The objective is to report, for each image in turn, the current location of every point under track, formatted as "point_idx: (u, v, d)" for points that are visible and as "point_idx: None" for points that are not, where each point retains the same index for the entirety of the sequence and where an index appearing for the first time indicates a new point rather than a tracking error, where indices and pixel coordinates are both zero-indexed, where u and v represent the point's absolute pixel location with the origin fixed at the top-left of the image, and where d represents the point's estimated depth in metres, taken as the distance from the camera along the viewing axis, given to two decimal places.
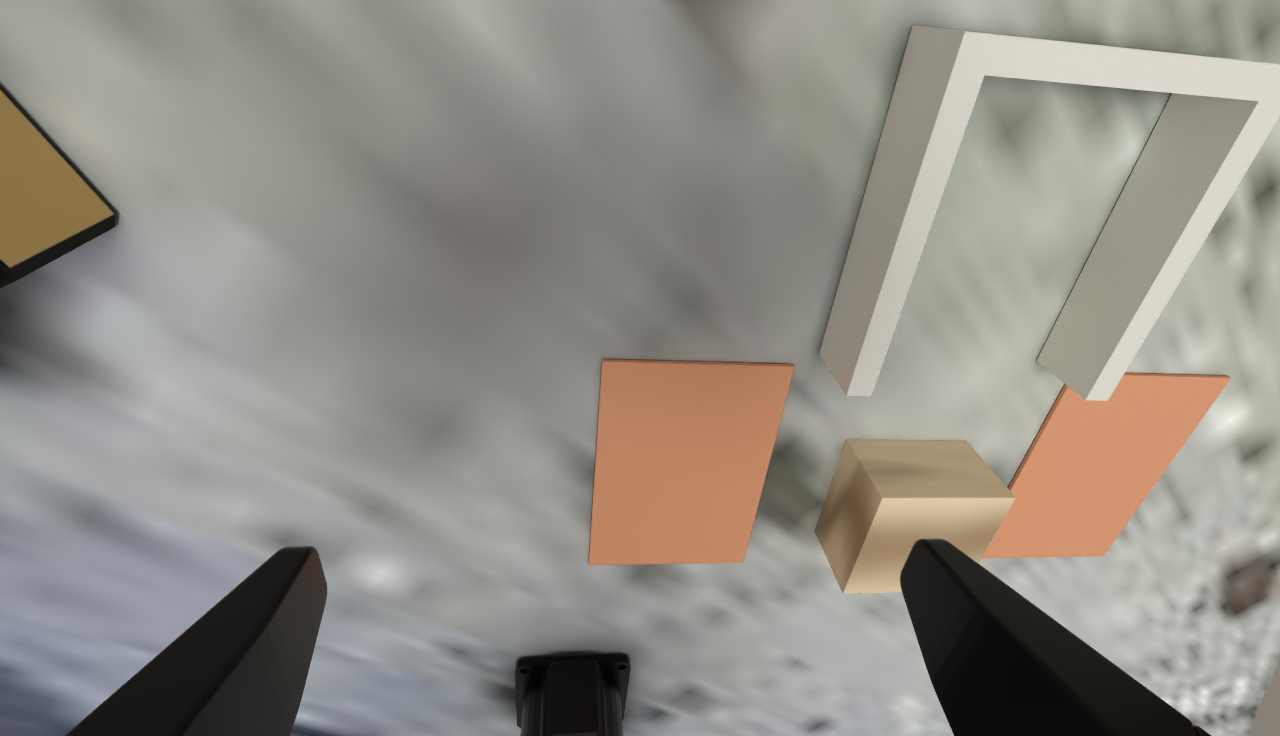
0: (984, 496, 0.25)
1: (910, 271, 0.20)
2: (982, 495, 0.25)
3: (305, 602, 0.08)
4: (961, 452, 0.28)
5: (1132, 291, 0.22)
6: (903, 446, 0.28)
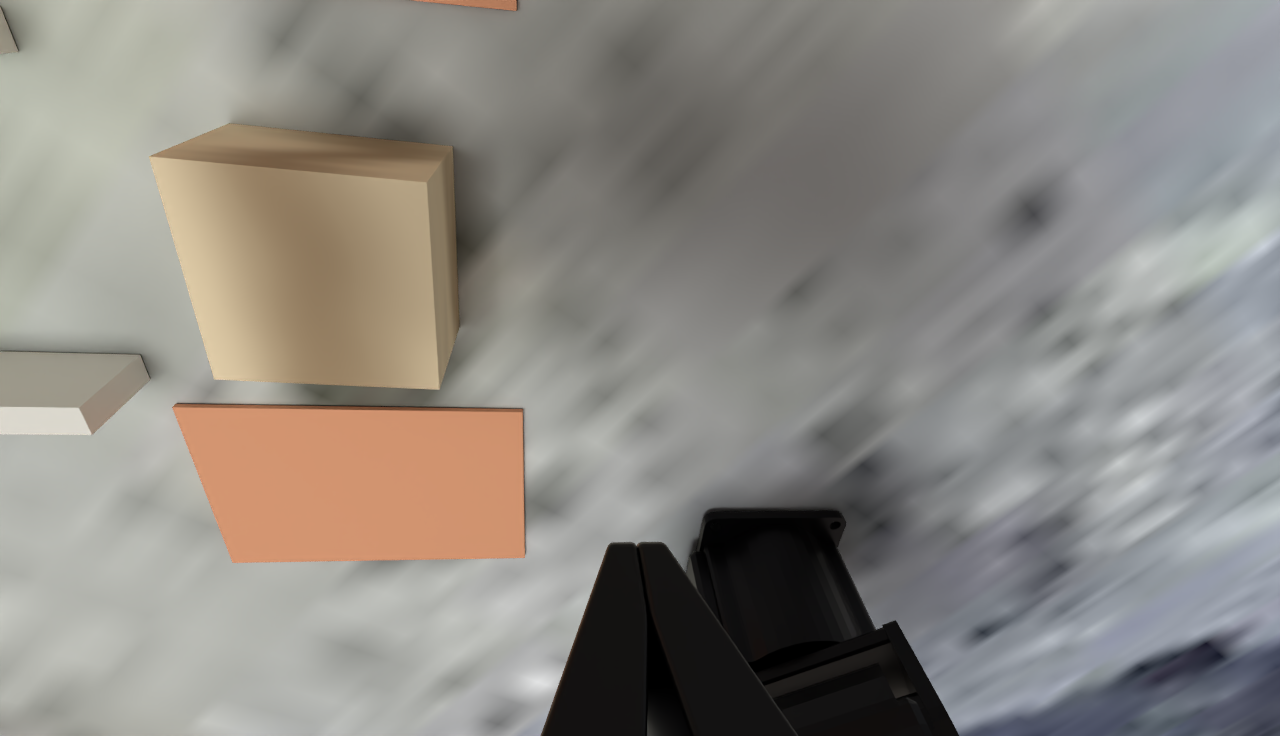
0: (168, 216, 0.14)
1: None
2: (171, 218, 0.14)
3: None
4: None
5: None
6: None
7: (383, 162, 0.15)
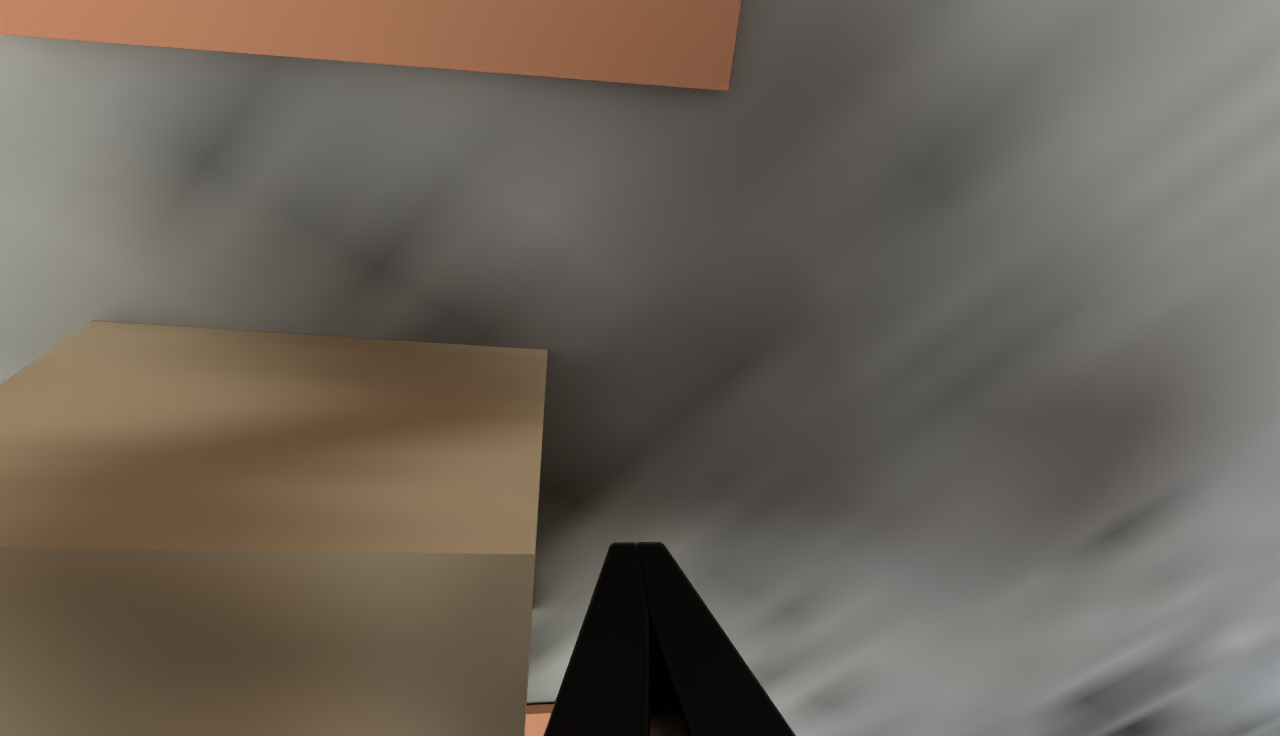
0: None
1: None
2: None
3: None
4: None
5: None
6: None
7: (417, 455, 0.07)
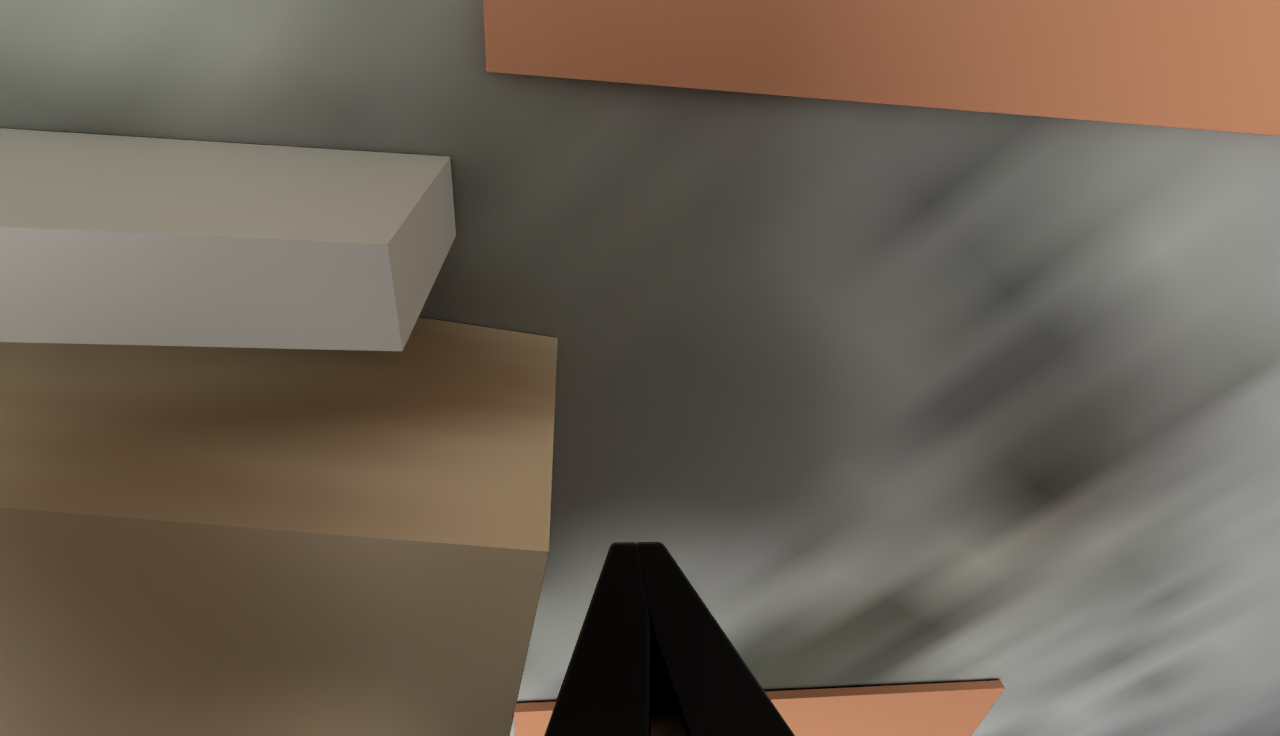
0: None
1: None
2: None
3: None
4: None
5: None
6: None
7: (426, 439, 0.06)
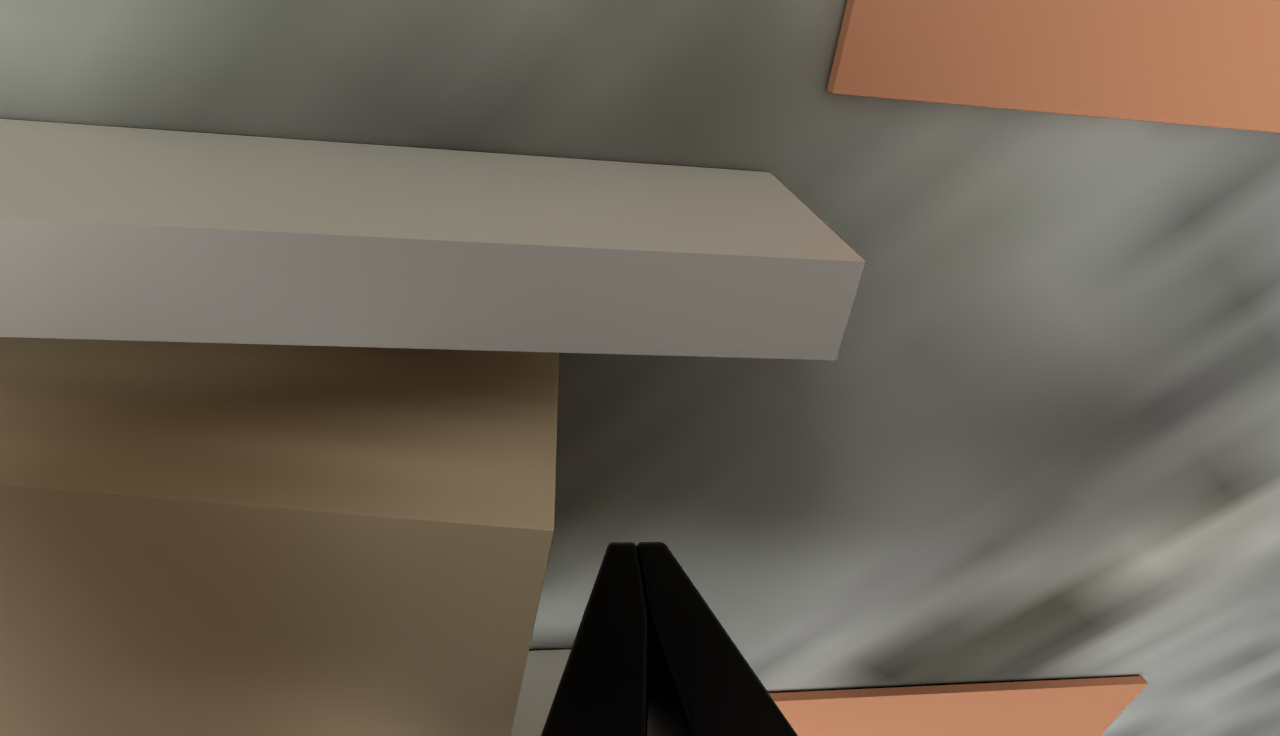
0: None
1: None
2: None
3: None
4: None
5: None
6: None
7: (432, 424, 0.07)
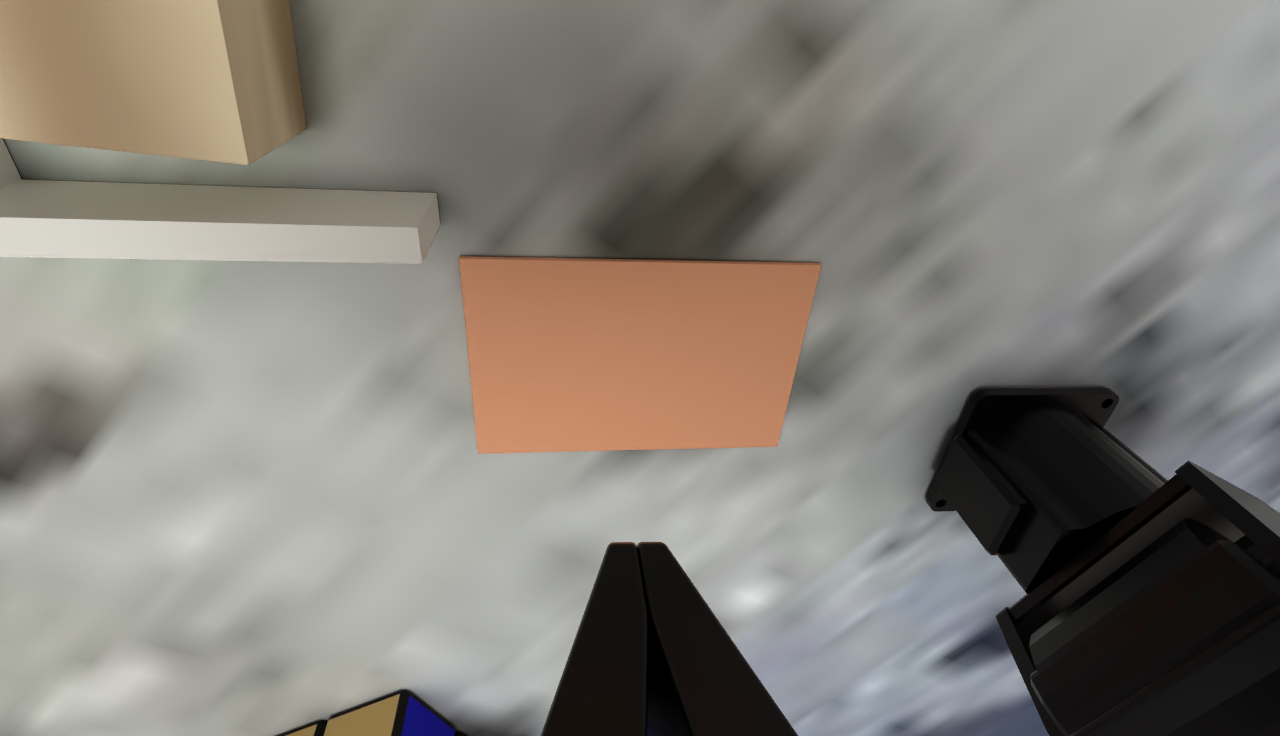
0: None
1: (205, 228, 0.15)
2: None
3: None
4: None
5: None
6: None
7: None
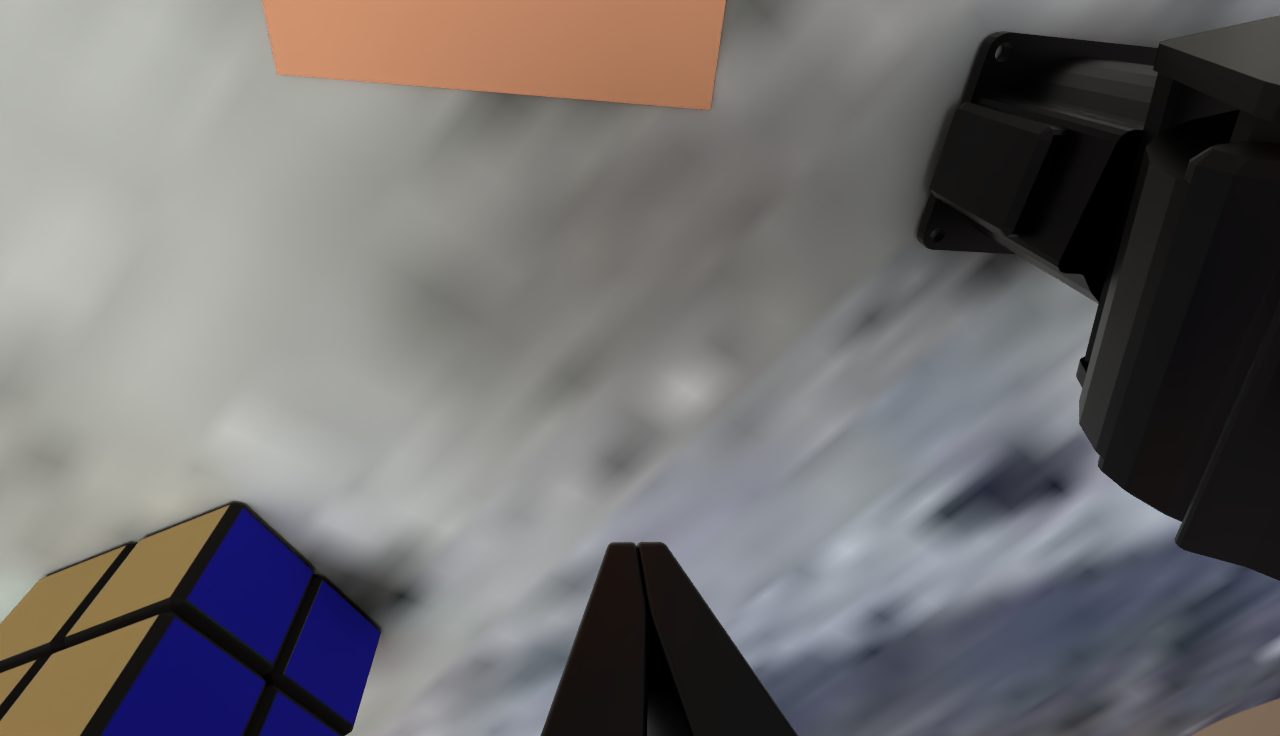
0: None
1: None
2: None
3: None
4: None
5: None
6: None
7: None
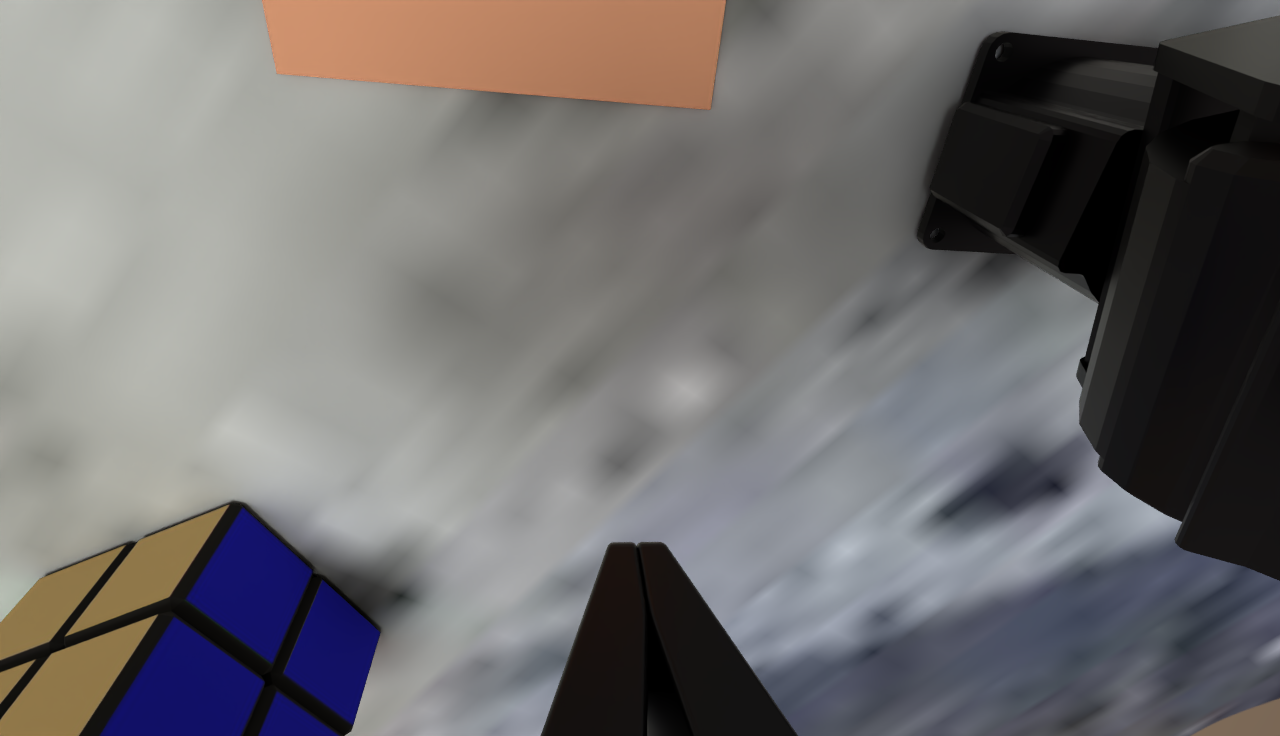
0: None
1: None
2: None
3: None
4: None
5: None
6: None
7: None
